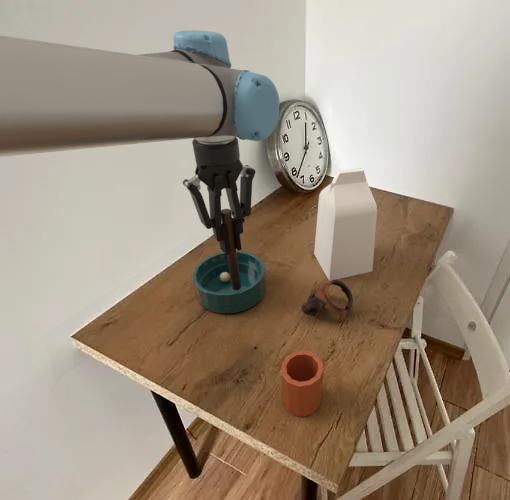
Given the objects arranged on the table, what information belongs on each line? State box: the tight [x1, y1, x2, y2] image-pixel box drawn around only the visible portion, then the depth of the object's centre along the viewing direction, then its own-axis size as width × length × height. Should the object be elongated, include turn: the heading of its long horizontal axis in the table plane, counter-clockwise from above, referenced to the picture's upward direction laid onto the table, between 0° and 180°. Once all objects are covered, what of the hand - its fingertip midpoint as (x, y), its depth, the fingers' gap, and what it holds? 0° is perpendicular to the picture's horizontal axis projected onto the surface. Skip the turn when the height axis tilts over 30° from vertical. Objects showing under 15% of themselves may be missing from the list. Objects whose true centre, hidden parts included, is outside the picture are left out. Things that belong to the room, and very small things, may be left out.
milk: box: [313, 168, 378, 282], centre depth 86 cm, size 12×12×26 cm
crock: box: [280, 349, 324, 418], centre depth 59 cm, size 7×7×9 cm
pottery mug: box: [301, 279, 354, 323], centre depth 77 cm, size 12×10×8 cm
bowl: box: [192, 250, 267, 314], centre depth 81 cm, size 15×15×6 cm
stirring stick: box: [221, 208, 241, 290], centre depth 75 cm, size 2×2×20 cm
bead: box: [220, 272, 230, 282], centre depth 84 cm, size 2×2×2 cm
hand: (231, 248), depth 74 cm, fingers closed on stirring stick, 2 cm apart
